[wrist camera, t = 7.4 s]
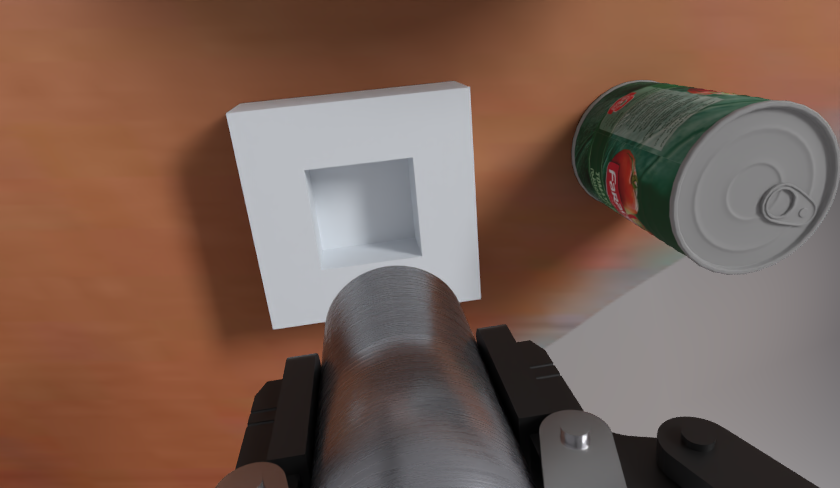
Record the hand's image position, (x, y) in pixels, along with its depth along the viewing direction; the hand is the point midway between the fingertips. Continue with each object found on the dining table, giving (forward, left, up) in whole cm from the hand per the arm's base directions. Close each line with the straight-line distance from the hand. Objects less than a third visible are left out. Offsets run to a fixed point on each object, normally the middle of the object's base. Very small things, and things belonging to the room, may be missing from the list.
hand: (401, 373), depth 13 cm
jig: (0, -1, -20) cm, 20 cm away
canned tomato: (+17, 0, -20) cm, 26 cm away
